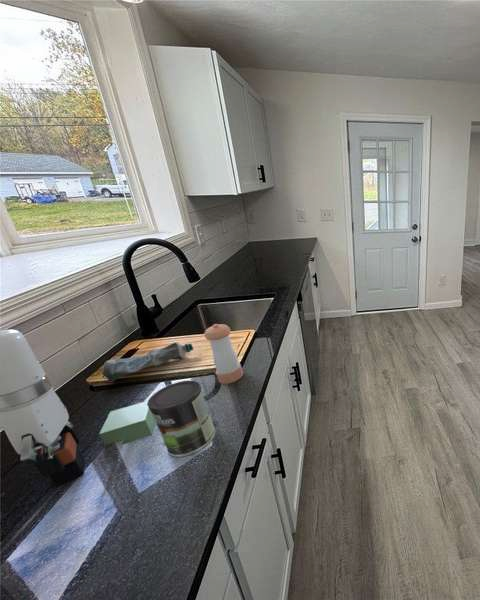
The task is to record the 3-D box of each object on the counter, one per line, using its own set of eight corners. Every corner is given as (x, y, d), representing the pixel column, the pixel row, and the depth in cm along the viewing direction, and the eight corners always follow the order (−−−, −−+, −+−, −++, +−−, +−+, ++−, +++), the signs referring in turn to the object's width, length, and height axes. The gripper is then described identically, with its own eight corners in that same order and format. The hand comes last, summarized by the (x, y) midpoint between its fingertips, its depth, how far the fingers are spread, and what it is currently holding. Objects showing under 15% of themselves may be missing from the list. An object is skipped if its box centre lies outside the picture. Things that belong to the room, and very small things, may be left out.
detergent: (104, 390, 99) (195, 362, 110) (94, 370, 96) (188, 344, 108) (113, 373, 110) (195, 349, 121) (105, 355, 107) (190, 332, 119)
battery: (58, 492, 66) (35, 457, 62) (61, 472, 70) (39, 438, 67) (86, 479, 68) (66, 444, 65) (87, 460, 73) (68, 427, 69)
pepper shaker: (228, 370, 106) (212, 319, 99) (247, 371, 105) (233, 319, 98) (213, 383, 99) (195, 329, 92) (234, 384, 98) (217, 330, 91)
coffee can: (188, 462, 71) (168, 413, 66) (157, 451, 75) (136, 403, 69) (225, 429, 80) (210, 384, 75) (196, 421, 84) (180, 377, 78)
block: (107, 450, 76) (98, 434, 74) (117, 426, 83) (110, 411, 82) (152, 435, 80) (145, 419, 78) (158, 413, 87) (152, 399, 85)
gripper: (19, 375, 67) (57, 438, 73) (-37, 427, 52) (16, 500, 59) (66, 364, 70) (98, 426, 76) (25, 411, 55) (69, 482, 62)
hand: (63, 458), depth 67 cm, fingers closed on battery, 7 cm apart
